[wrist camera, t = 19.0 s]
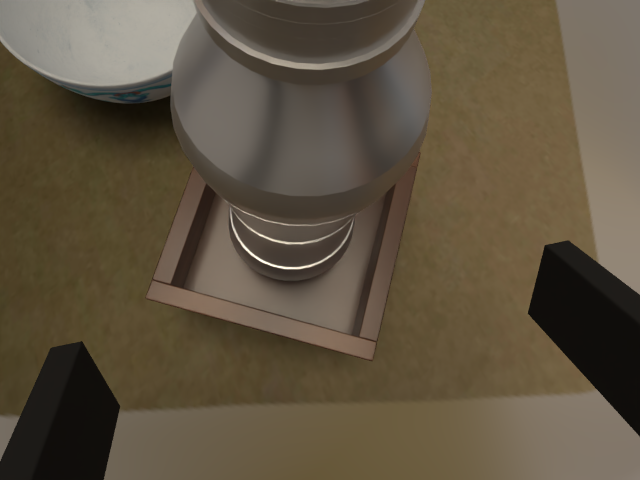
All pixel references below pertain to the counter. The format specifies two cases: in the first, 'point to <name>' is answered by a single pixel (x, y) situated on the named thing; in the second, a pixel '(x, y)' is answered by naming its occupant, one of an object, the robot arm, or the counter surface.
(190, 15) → the chinaware
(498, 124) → the counter surface
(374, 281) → the walnut box
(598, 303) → the robot arm
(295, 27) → the metal bottle
